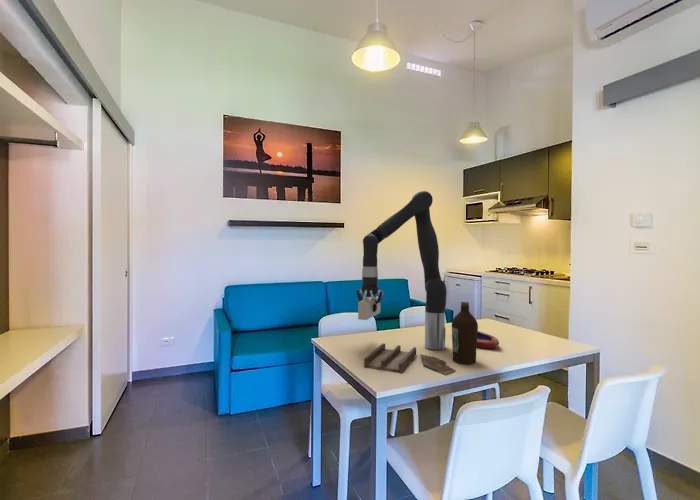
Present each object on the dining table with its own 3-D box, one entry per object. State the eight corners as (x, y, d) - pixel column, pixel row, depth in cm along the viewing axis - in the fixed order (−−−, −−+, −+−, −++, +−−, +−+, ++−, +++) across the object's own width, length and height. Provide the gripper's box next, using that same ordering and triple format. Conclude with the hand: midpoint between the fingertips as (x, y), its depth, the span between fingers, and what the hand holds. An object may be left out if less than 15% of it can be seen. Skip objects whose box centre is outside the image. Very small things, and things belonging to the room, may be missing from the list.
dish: (468, 334, 197) (468, 325, 197) (509, 350, 168) (509, 339, 168) (444, 336, 192) (444, 327, 192) (481, 353, 163) (481, 342, 163)
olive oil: (472, 357, 156) (473, 300, 155) (481, 365, 145) (482, 304, 145) (448, 357, 156) (449, 300, 155) (455, 365, 145) (456, 304, 145)
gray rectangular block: (380, 312, 179) (380, 296, 179) (366, 320, 161) (366, 302, 160) (372, 311, 181) (373, 296, 180) (358, 319, 162) (358, 301, 162)
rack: (416, 355, 158) (416, 347, 158) (402, 372, 136) (402, 363, 136) (382, 350, 164) (382, 343, 164) (364, 366, 142) (364, 358, 142)
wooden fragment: (460, 375, 135) (460, 372, 135) (432, 376, 133) (433, 373, 133) (435, 354, 160) (435, 352, 160) (411, 355, 158) (411, 353, 158)
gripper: (386, 275, 171) (386, 311, 171) (359, 274, 177) (359, 309, 177) (381, 277, 164) (381, 314, 164) (353, 275, 170) (353, 311, 170)
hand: (369, 311), depth 171 cm, fingers closed on gray rectangular block, 4 cm apart
